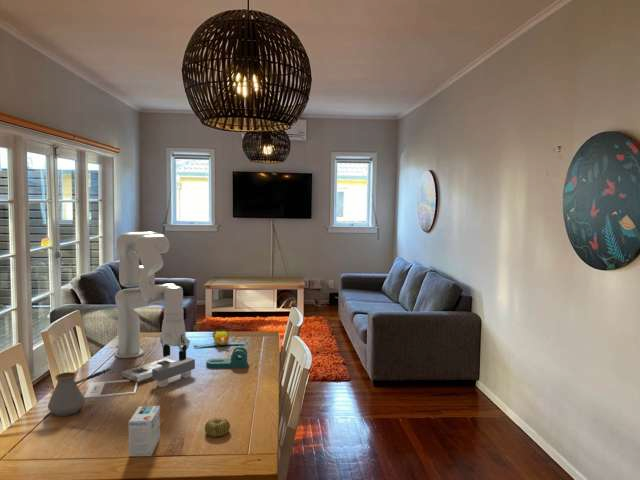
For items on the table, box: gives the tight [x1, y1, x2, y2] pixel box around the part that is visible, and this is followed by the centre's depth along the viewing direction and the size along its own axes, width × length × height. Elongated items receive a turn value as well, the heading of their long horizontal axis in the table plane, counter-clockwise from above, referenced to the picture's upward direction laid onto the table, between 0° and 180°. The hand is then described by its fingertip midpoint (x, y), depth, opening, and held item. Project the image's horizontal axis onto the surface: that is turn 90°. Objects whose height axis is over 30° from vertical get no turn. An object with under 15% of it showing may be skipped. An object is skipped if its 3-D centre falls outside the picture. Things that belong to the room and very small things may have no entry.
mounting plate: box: [121, 357, 176, 385], centre depth 209 cm, size 10×22×3 cm, turn 146°
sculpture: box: [204, 417, 231, 438], centre depth 157 cm, size 8×4×8 cm
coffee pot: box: [47, 368, 113, 417], centre depth 171 cm, size 21×12×15 cm, turn 96°
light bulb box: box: [127, 405, 161, 457], centre depth 147 cm, size 11×7×11 cm, turn 5°
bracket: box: [205, 345, 248, 369], centre depth 220 cm, size 18×7×8 cm, turn 95°
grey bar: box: [151, 356, 196, 388], centre depth 201 cm, size 4×18×7 cm, turn 146°
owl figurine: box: [193, 328, 250, 350], centre depth 252 cm, size 28×9×15 cm
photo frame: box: [83, 379, 139, 399], centre depth 192 cm, size 15×1×18 cm
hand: (174, 358), depth 200 cm, fingers open, 9 cm apart
